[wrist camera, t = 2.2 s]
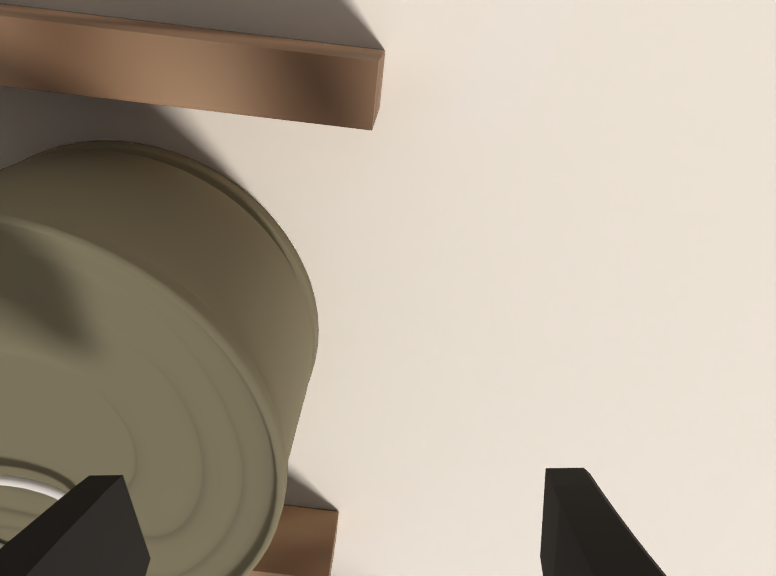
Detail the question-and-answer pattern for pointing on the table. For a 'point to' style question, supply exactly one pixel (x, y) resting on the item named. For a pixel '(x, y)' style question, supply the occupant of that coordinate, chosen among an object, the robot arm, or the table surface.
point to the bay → (212, 93)
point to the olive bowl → (150, 349)
